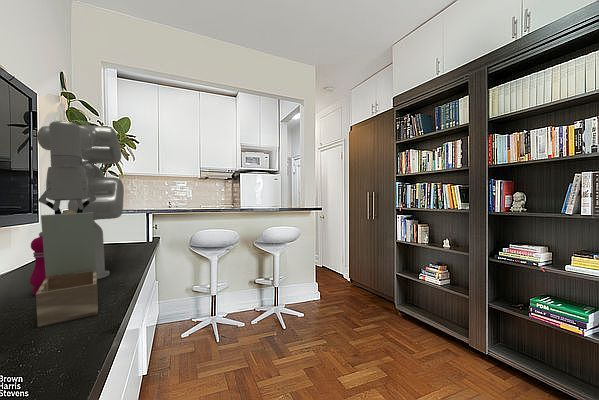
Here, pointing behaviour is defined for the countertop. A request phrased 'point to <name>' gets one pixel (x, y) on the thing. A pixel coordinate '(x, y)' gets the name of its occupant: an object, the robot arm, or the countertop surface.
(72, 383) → the countertop surface
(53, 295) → the box
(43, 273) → the pepper mill
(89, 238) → the lid
